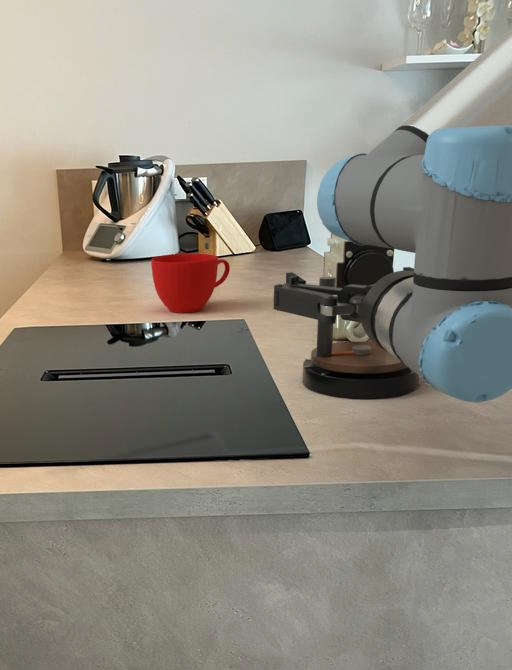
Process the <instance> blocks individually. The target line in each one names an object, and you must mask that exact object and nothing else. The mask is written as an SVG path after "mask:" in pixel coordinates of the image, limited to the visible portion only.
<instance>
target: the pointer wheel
mask: <svg viewBox="0 0 512 670" xmlns="http://www.w3.org/2000/svg"><path fill="white" fill-rule="evenodd" d="M318 282H319V283H318V284H319V285H318V286H327V287H335V283H336V278H335V277H329V276H327V277H323V276H320V277H319V280H318ZM333 339H334V337H333V324H331V325H327V324H325V323H323V322H321V321H319V320H317V330H316V347H315V348H313V349H312V350H311V352H310V357H311V362H312V363H313V364H314V365H316V366H318V367H321V368H324V369H327V370H332V371H337V372H345V373H361V374H372V373H386V372H393V371H398V370H402V369H405V368H407V366H406V365H405V364H404V363H402V362H401V361H400V360H399V359H397V358H396V357H394V356H393V355H391V354H390V353H388V352H386V351H385V350H383V349H382V348H380V347H379V346H378V345H376V344H375V343H374V342H373V341H365V342H352V341H343V342H342V341H341V342H333Z"/></svg>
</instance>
